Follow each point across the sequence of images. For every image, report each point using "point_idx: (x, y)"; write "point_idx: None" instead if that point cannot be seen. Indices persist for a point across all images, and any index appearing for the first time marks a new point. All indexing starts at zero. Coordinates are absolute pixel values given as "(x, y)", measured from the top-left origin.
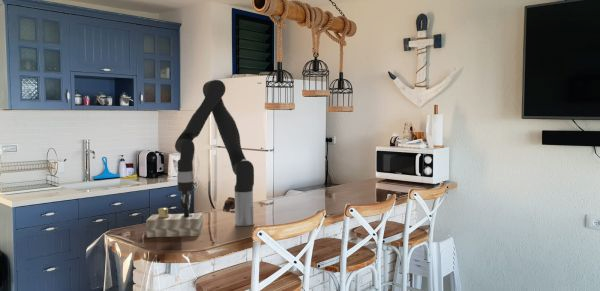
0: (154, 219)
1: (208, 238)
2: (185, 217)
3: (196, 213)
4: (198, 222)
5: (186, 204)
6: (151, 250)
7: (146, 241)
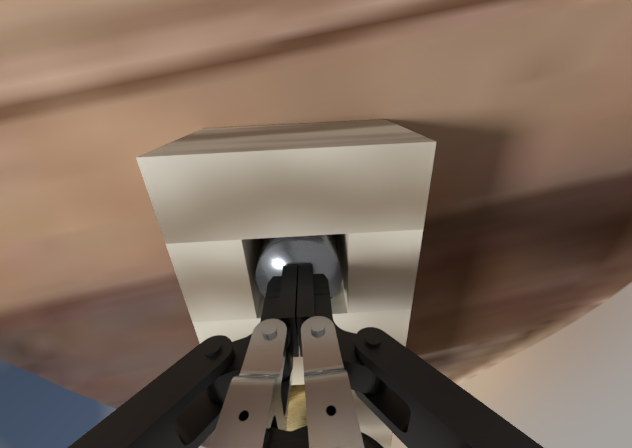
0: (378, 426)
1: (480, 22)
2: (337, 279)
3: (158, 220)
4: (419, 136)
5: (462, 395)
6: (601, 293)
7: (439, 344)
